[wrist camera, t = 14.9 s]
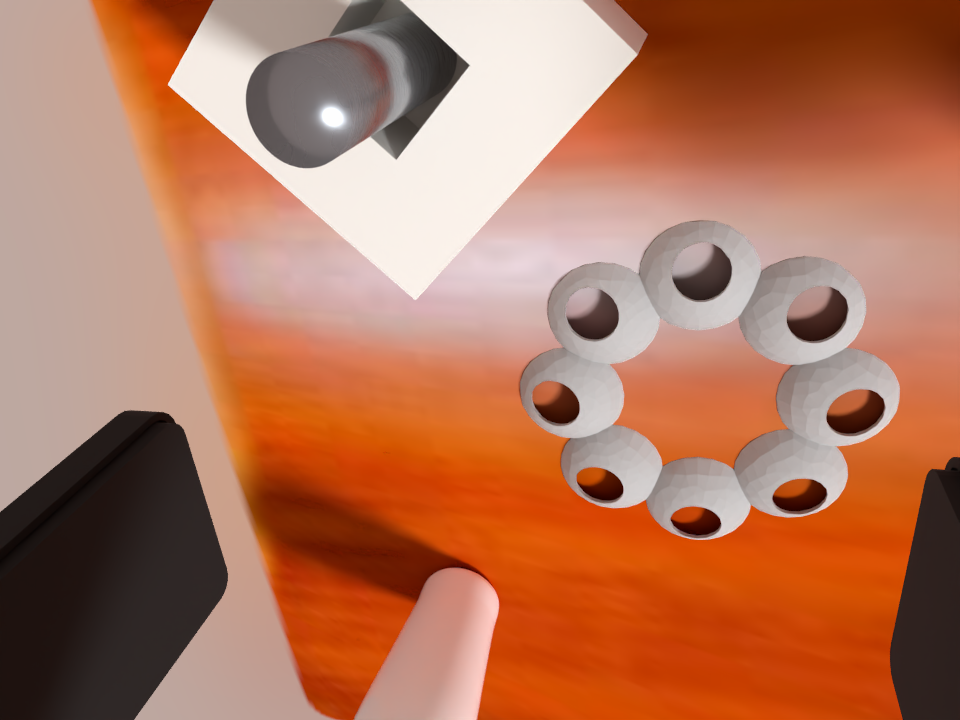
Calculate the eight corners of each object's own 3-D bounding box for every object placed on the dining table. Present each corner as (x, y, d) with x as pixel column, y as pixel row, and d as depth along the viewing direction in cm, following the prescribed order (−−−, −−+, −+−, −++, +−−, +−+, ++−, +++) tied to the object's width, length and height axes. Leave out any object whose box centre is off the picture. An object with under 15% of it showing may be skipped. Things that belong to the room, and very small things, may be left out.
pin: (407, -7, 34) (277, 25, 24) (472, 49, 34) (371, 104, 24) (365, 62, 36) (227, 118, 25) (427, 114, 36) (316, 190, 26)
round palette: (985, 402, 39) (998, 423, 37) (691, 584, 49) (691, 607, 47) (707, 133, 36) (708, 143, 35) (454, 383, 46) (445, 401, 44)
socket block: (407, -205, 33) (341, -237, 27) (647, 34, 35) (637, 54, 29) (247, 62, 40) (167, 84, 34) (455, 248, 42) (415, 300, 36)
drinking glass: (502, 555, 51) (437, 763, 38) (519, 631, 54) (463, 849, 41) (406, 553, 53) (313, 751, 40) (427, 627, 56) (347, 833, 43)
